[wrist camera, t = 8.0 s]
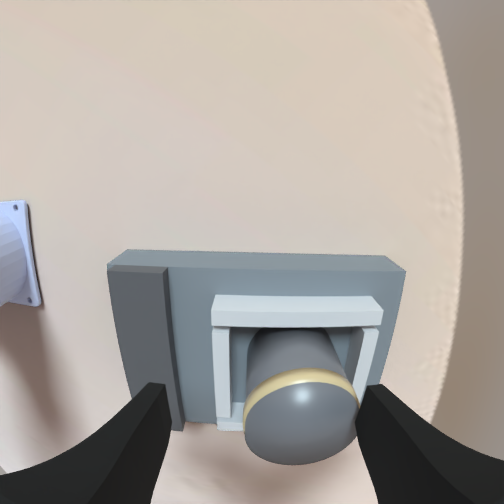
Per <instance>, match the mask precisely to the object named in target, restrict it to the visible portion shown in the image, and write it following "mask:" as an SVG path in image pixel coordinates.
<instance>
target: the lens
mask: <svg viewBox="0 0 504 504" xmlns="http://www.w3.org/2000/svg"><path fill="white" fill-rule="evenodd" d="M359 409H360V403H359V400H358V397H357V395H356V393H355V390H354V388H353V386H352V385H351V383H350V382H349V381H348V379H347V377H346V374H345V372H344V370H343V367H342V365H341V362H340V360H339V357H338V355H337V353H336V350H335V348H334V346H333V343H332V341H331V339H330V336H329V335H328V333H327V332H326V330H325V329H324V328H323V327H262V328H261V329H260V330H259V331H258V332H257V333H256V334H255V335H254V336H253V338H252V339H251V341H250V343H249V346H248V350H247V373H246V401H245V404H244V408H243V431H244V434H245V440H246V443H247V445H248V447H249V448H250V450H251V451H252V452H253V453H254V454H255V455H257V456H259V457H260V458H262V459H264V460H266V461H269V462H273V463H277V464H283V465H303V464H309V463H314V462H318V461H321V460H324V459H326V458H329V457H331V456H333V455H335V454H337V453H339V452H340V451H342V450H343V449H344V448H346V447H347V446H348V445H349V444H350V443H351V442H352V441H353V440H354V439H355V438H356V436H357V432H356V427H355V420H356V417H357V415H358V412H359Z"/></svg>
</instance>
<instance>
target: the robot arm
mask: <svg viewBox="0 0 504 504" xmlns="http://www.w3.org/2000/svg"><path fill="white" fill-rule="evenodd" d="M17 206H18V210H17ZM30 298H31V299H32V300H31V299H30ZM6 302H11V303H17V304H22V305H28V306H34V307H37V306H39V305H40V304H41V297H40V293H39V288H38V283H37V278H36V272H35V266H34V260H33V253H32V246H31V239H30V230H29V220H28V208H27V203H26V201H24V200H15V201H6V202H0V307H1V306H2V305H3V304H5V303H6ZM171 426H172V418H171V413H170V408H169V402H168V397H167V391H166V385H165V384H161V383H153V382H149V383H147V384H146V385H145V386H144V387H143V388H142V389H141V390H140V391H139V392H138V393H137V394H136V395H135V397H134V398H133V399H132V400H131V401H130V402H129V403H128V404H127V405H125V406H124V407H123V408H122V409H121V410H120V411H119V412H118V413H117V414H116V415H115V416H114V417H113V418H112V419H110V420H109V421H108V422H107V423H106V424H104V425H103V426H102V427H101V428H100V429H98V430H97V431H96V432H95V433H93V434H92V435H91V436H89V437H88V438H86V439H85V440H84V441H82V442H81V443H79V444H78V445H76V446H74V447H73V448H71V449H69V450H67V451H66V452H64V453H62V454H60V455H58V456H56V457H54V458H52V459H50V460H48V461H45V462H43V463H41V464H38V465H35V466H33V467H30V468H27V469H24V470H20V471H16V472H13V473H8V474H4V475H0V504H150V503H151V499H152V495H153V491H154V488H155V484H156V481H157V478H158V475H159V472H160V469H161V466H162V463H163V460H164V456H165V453H166V450H167V447H168V443H169V438H170V432H171ZM355 427H356V432H357V437H358V442H359V446H360V449H361V452H362V455H363V457H364V460H365V463H366V466H367V469H368V472H369V474H370V477H371V480H372V483H373V486H374V488H375V492H376V495H377V499H378V504H504V461H503V460H500V459H496V458H493V457H490V456H488V455H485V454H482V453H480V452H477V451H475V450H473V449H471V448H468V447H466V446H464V445H462V444H460V443H459V442H457V441H455V440H454V439H452V438H450V437H448V436H447V435H445V434H444V433H442V432H440V431H439V430H438V429H436V428H435V427H433V426H432V425H431V424H429V423H428V422H427V421H425V420H424V419H423V418H421V417H420V416H419V415H418V414H416V413H415V412H414V411H413V410H412V409H410V408H409V407H408V406H407V405H406V404H405V403H403V402H402V401H401V400H400V399H399V398H398V397H397V396H395V395H394V394H393V393H392V392H391V391H390V390H388V389H387V388H386V387H385V386H384V385H382V384H377V385H367V387H366V390H365V393H364V396H363V400H362V403H361V406H360V409H359V412H358V415H357V417H356V420H355Z"/></svg>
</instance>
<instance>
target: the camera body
mask: <svg viewBox="0 0 504 504" xmlns="http://www.w3.org/2000/svg"><path fill="white" fill-rule="evenodd" d="M405 274H406V271H405V270H404V269H402V268H401V267H400V266H398V265H397V264H396V263H394V262H393V261H391V260H390V259H389V258H387V257H386V256H371V255H328V254H287V253H245V252H205V251H164V250H126V251H125V252H123V253H122V254H120V255H119V256H118V257H116V258H115V259H113V260H112V261H111V262H109V263H108V264H107V276H108V283H109V291H110V297H111V304H112V310H113V316H114V322H115V327H116V333H117V338H118V343H119V348H120V352H121V357H122V361H123V366H124V370H125V374H126V378H127V382H128V386H129V390H130V394H131V398H132V399H133V398H134V397H135V395H136V394H137V393H138V392H139V391H140V390H141V389H142V388H143V387H144V386H145V385H146V384H147V383H149V382H153V383H161V384H165V385H166V391H167V397H168V402H169V408H170V413H171V418H172V426H171V430H174V431H183V429H184V424H185V421H188V422H198V423H211V424H217V430H225V431H243V408H244V404H245V401H246V373H247V350H248V346H249V343H250V341H251V339H252V338H253V336H254V335H255V334H256V333H257V332H258V331H259V330H260V329H261V328H262V327H323V328H324V329H325V330H326V332H327V333H328V335H329V336H330V339H331V341H332V343H333V346H334V348H335V350H336V353H337V355H338V357H339V360H340V362H341V365H342V367H343V370H344V372H345V374H346V377H347V379H348V381H349V382H350V383H351V385H352V386H353V388H354V390H355V393H356V395H357V397H358V400H359V403H360V406H361V403H362V400H363V396H364V393H365V390H366V387H367V385H377V384H379V382H380V379H381V375H382V372H383V369H384V365H385V362H386V358H387V355H388V351H389V347H390V343H391V340H392V336H393V332H394V327H395V323H396V319H397V314H398V310H399V305H400V301H401V296H402V291H403V285H404V280H405Z"/></svg>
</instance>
